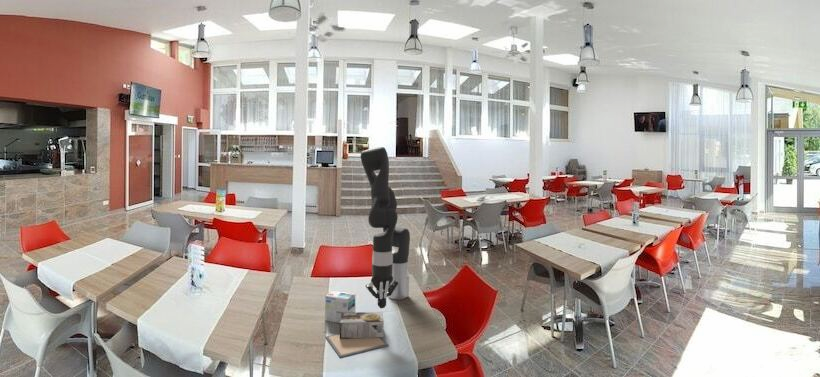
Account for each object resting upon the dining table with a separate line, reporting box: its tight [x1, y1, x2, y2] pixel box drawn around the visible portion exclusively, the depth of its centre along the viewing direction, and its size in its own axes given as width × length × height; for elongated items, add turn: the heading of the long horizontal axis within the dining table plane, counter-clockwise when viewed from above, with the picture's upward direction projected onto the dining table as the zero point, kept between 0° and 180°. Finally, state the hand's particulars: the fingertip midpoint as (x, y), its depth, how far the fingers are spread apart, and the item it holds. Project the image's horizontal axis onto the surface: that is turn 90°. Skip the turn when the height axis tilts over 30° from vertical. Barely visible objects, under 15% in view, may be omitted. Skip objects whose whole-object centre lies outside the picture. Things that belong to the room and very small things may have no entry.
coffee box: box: [339, 311, 385, 339], centre depth 148 cm, size 9×6×16 cm
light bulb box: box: [324, 290, 356, 324], centre depth 160 cm, size 11×7×11 cm, turn 71°
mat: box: [325, 333, 389, 359], centre depth 142 cm, size 18×16×1 cm
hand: (381, 307), depth 146 cm, fingers closed
